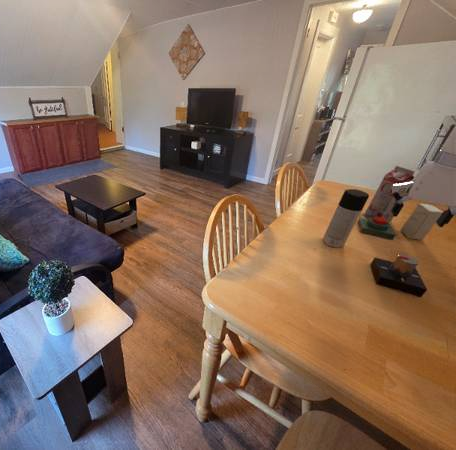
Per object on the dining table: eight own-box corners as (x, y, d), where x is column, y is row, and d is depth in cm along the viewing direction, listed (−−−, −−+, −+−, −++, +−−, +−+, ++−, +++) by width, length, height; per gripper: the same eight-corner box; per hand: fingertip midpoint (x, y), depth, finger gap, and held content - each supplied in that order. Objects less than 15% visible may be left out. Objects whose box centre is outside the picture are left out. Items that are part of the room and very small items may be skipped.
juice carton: (378, 222, 101) (408, 172, 90) (363, 215, 107) (389, 166, 95) (391, 221, 103) (421, 170, 91) (375, 213, 108) (402, 165, 97)
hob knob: (406, 270, 72) (416, 256, 69) (410, 279, 69) (421, 265, 66) (387, 265, 74) (397, 251, 71) (391, 273, 71) (401, 259, 68)
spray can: (348, 247, 87) (375, 196, 76) (331, 249, 86) (356, 197, 75) (333, 236, 92) (357, 187, 82) (317, 238, 91) (339, 188, 81)
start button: (383, 221, 95) (385, 218, 94) (385, 226, 92) (387, 222, 91) (372, 219, 96) (374, 215, 96) (373, 223, 94) (376, 219, 93)
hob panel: (410, 275, 75) (416, 267, 73) (420, 297, 67) (427, 289, 66) (370, 264, 79) (374, 256, 77) (376, 284, 71) (381, 276, 70)
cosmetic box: (399, 230, 97) (417, 202, 90) (412, 231, 96) (431, 204, 89) (410, 239, 91) (429, 210, 85) (423, 240, 91) (444, 212, 84)
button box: (387, 228, 98) (392, 220, 95) (393, 239, 91) (398, 231, 89) (357, 222, 102) (361, 213, 100) (360, 232, 95) (365, 223, 93)
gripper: (501, 163, 59) (453, 223, 68) (408, 151, 67) (376, 206, 76) (516, 172, 54) (462, 235, 63) (413, 157, 62) (379, 216, 71)
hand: (415, 219), depth 69 cm, fingers open, 9 cm apart
